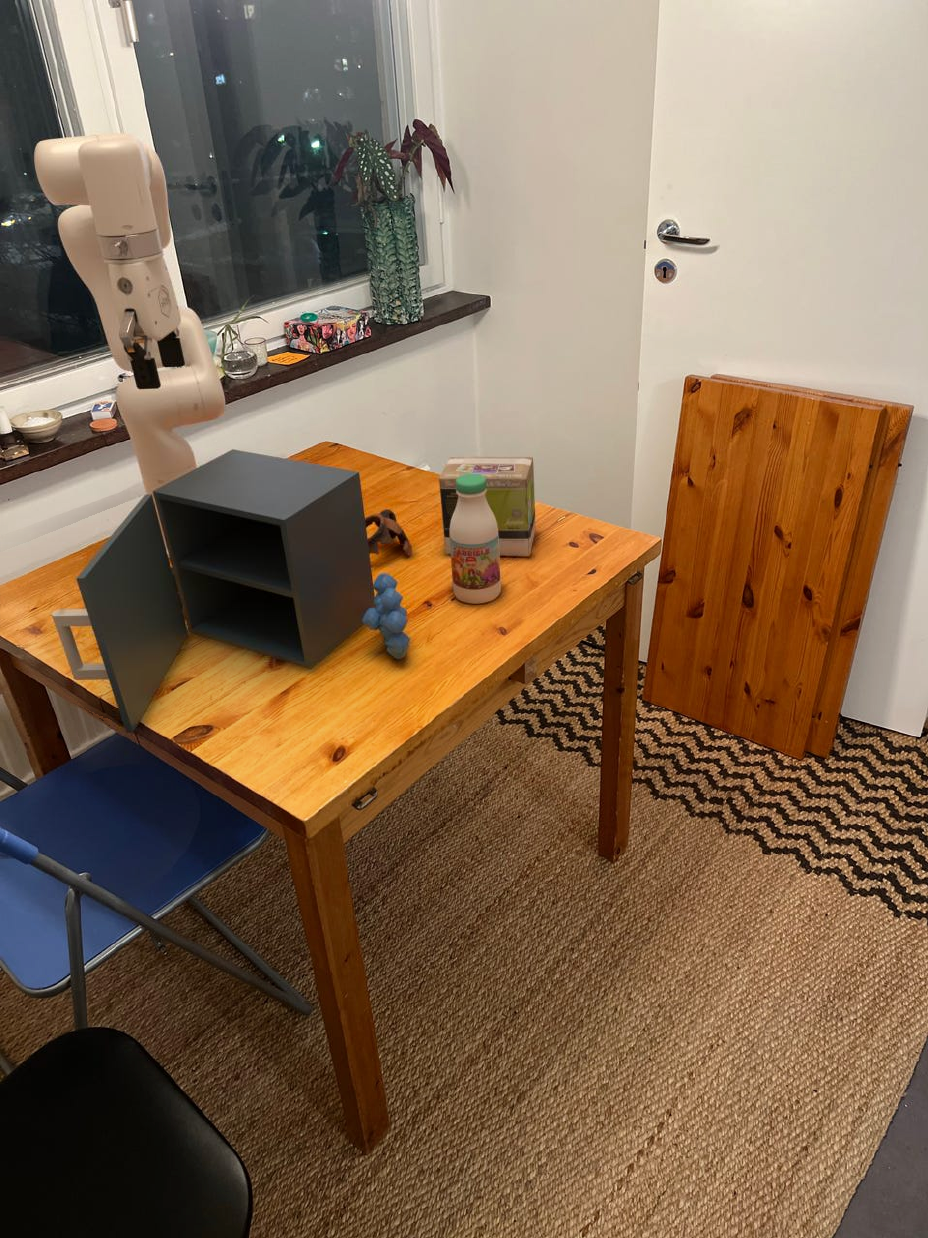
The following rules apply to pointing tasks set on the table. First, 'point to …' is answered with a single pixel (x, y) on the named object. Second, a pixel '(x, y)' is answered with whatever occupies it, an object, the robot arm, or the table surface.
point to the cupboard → (269, 554)
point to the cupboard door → (128, 613)
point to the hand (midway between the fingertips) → (162, 376)
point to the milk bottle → (474, 543)
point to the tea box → (496, 498)
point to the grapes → (388, 616)
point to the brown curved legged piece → (386, 531)
